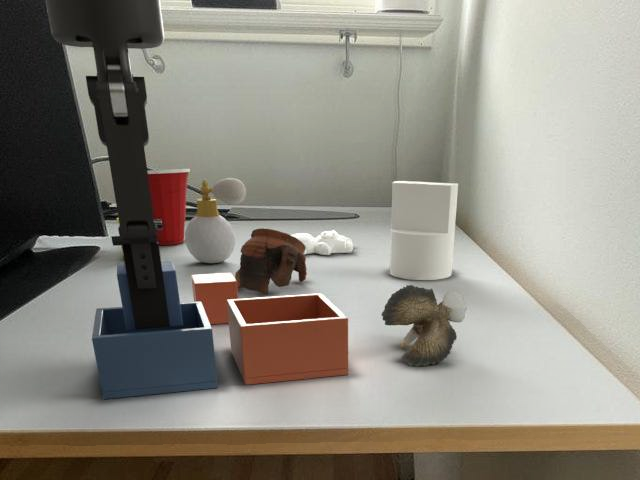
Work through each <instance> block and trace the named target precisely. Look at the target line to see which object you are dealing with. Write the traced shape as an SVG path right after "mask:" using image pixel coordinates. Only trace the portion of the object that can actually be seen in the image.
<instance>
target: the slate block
mask: <svg viewBox="0 0 640 480" xmlns="http://www.w3.org/2000/svg"><path fill="white" fill-rule="evenodd" d="M161 264H162V271H163V279H164V286H165V293H166V300H167V308H168V315H169V322H170V327H175V326H183V321H182V313H181V306H180V303H181V300H180V292H179V285H178V279H177V271H176V268H175V264H174V262H173V260H172V259H170V260H169V259H168V260H161ZM116 278H117V284H118V285H117V286H118V290H119V296H120V301H121V307H123V313H124V318H125V324H126V329H127V330H140V329H136V328H135V322H134V316H133V310H132V304H131V298H130V292H129V286H128V280H127V274H126V268H125V262H118V263H117V265H116ZM159 328H163V327H159ZM146 329H152V328H146Z"/></svg>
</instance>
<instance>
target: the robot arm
mask: <svg viewBox="0 0 640 480" xmlns="http://www.w3.org/2000/svg"><path fill="white" fill-rule="evenodd" d="M44 1H45V6H46V12H47V19H48V22H49V28H50V33H51V36H52V38H53V40H55V42H57V43H58V44H60V45H63V46H68V47H74V48H75V47H76V48H92V49H93V54H94V62H95V68H96V75H85V83H86V87H87V94H88V98H89V100H90V104H92V106H93V107H94V108H93V109H94V115H95V120H96V126H97V132H98V137H99V140H100V142H101V144H102V145H104V146H105V147H106V150H107V156H108V162H109V170H110V175H111V180H112V187H113V193H114V199H115V205H116V211H117V218H119V223H118V224H119V225H120V226H119V225H118V227H117V229H118V230H117V231H118V235H114V236H111V243H112V246H113V247H115V246H121V245H122V248H121V250H122V249H123V252H122V255H123V259H124V261H123V262H124V263H125V268H126V274H127V280H128V286H129V292H130V298H131V304H132V310H133V316H134V322H135V328H136V329H146V328H159V327H170V322H169V315H168V308H167V300H166V293H165V286H164V279H163V271H162V264H161V261H162V258H161V257H162V256H161V251H160V250H161V249H160V245H159V243H158V242H157V239H158V234H157V233H158V230H161V229H163V228H162V221H161V219H154V215H153V208H152V200H151V193H150V186H149V179H148V172H147V171H148V166H147V159H146V158H147V157H146V151H145V147H146V146H147V145H148V143H149V141H150V136H149V135H150V133H149V128H148V120H147V114H146V113H147V112H146V106H147V104H148V95H147V87H146V86H147V85H146V81H145V76H134V74H133V73H132V68H131V60H130V53H129V49H136V50H137V49H139V50H143V49H145V50H146V49H154V48H158V47H160V46H162V45H163V43H164V41H165V32H164V23H163V15H162V6H161V5H162V4H161V0H44ZM119 235H120V236H119Z"/></svg>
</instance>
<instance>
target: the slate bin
mask: <svg viewBox="0 0 640 480" xmlns="http://www.w3.org/2000/svg"><path fill="white" fill-rule="evenodd" d="M180 306H181V313H182V321H183V326H175V327H163V328H152V329H140V330H127V329H126V324H125V318H124V313H123V307H122V306H112V307H99V308H97V307H96V309H95V315H94V322H93V330H92V335H91V341H92V347H93V351H94V357H95V362H96V367H97V372H98V377H99V384H100V388H101V392H102V398H103V400H110V399H111V400H112V399H121V398H122V399H123V398H130V397H140V396H149V395H150V396H152V395H160V394H161V395H162V394H170V393H171V394H172V393H179V392H189V391H200V390H209V389H218V388H219V381H218V372H217V364H216V363H217V362H216V354H215V353H216V352H215V345H214V333H213V328H212V324H210V323H209V320H208V318H207V315H206V312H205V310H204V307H203V305H202V302H201V301H200V302H194V301H188V302H180Z"/></svg>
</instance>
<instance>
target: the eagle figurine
mask: <svg viewBox="0 0 640 480" xmlns="http://www.w3.org/2000/svg"><path fill="white" fill-rule="evenodd" d="M383 308H384V309H383V311H382V312H381V317H382V321H384V325H385V326H409V325H412V327H411V328H410V329H409V331H408V332H407V333H406V335H405V336H404V337H403V340H402V341H403V342H402V344H401V346H400V347H401V348H404V347H406V346H408V345H410V344H412V343H413V342H414V343H413V344H412V345H411V346H410V348H408V349H407V350H406V352H404V354H402V355H401V359H402V360H403V361H404V363H408V365H409V366H414V367H420V366H423V367H424V366H428V365H429V364H431V365H436V363H442V362H443V361H444V360H445V359H446V358H448V357H449V355H450V354H451V350H452V349H453V345H454V343H455V341H456V340H457V337H458V336H457V332H456V330H455V329H454V328H453V326H452V325H451V322H453V323H462V322H464V320H465V318H466V313H467V310H468V307H467V301H466V300H465V299H464V296H462V295H460V294H459V293H457V292H455V291H448V292H447V293H445V295H444V297H443V299H442V301H440V302H439V303H438V302H437V298H436V294H435V292H434V290H433V288H424V287H419V286H415V285H413V284H409V285H408V284H407V285H406V286H403V287H401V288H399V289H398V290H396V291H395V292H394V293H392V294H391V296H390V297H389V298H388V299H387V302H386V304H385V305H384V307H383Z"/></svg>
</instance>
